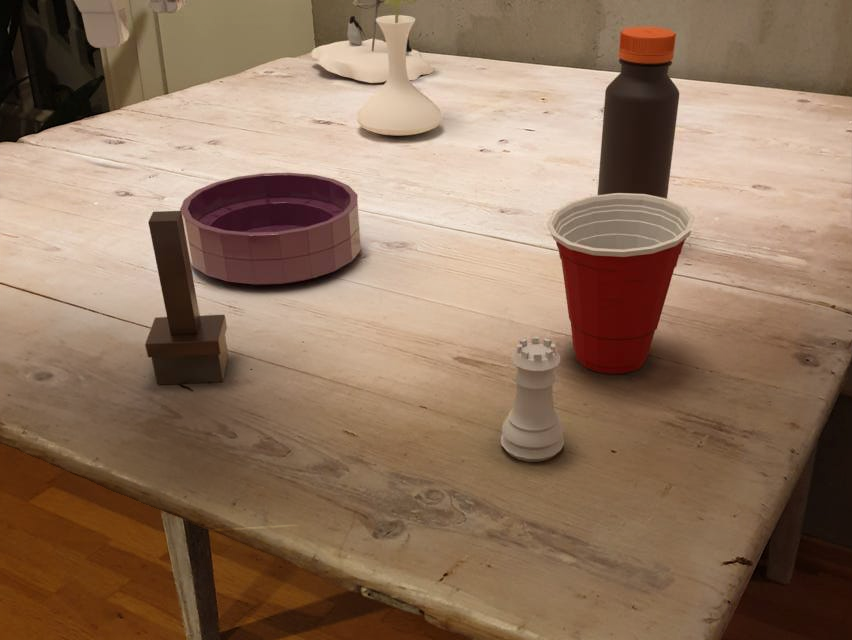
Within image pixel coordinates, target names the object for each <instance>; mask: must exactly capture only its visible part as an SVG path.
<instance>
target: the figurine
mask: <svg viewBox="0 0 852 640" xmlns="http://www.w3.org/2000/svg"><path fill="white" fill-rule="evenodd" d="M384 2H385V0H375V3H359V2H358V0H353V2H352V5H353V6H355V7H358V8H361V9H363V7H365V10H366V9H368V7H369V9H371V8H374V7H375V9H374V10H375V11H374V20H373V31H372V38H369V39H366V40H363V39H362V34H363V37H366V35H365V32H364V31H363V28H362V26H361V25H360V23H359V22H358V21H357V19H356V16H354V15H351V16H350V17H349V21H348V24H347V27H348V28H347V33H346V35H347V40H341V41H335V42H332V43H328V44H323V45H319V46H316V47H314V48H313V49H312V51H311V52H310V54H309V56H310V57H312V58H313V59H314V60H317V63H316V65H319V66H320V67H322V68H323V69H324V70H325V71H327V72H330V73H332V74H335V75H338V76H340V77H345V78H349V79H353V80H355V81H359V82H364V83H369V84H375V83H377V84H378V83H385V82H386V81H387V78H388V74H389V59H388V50H387V44H386V41H383V40H382V39H377V38H376V30H377V22H376V18H378V10H379V9H378V8H380V5H381V4H384ZM406 70H407V75H408V78H409V80H410V81H414V80H415V81H416V80H417V79H419V77H420V76H421V75H430V74H432V73H433V72H434V69H433V68H432V65H431V64H430V63H429V62H428V61H427V60H425V59H424V58H423V55H422V53H421V52H419V50H416V49H413V48H412V47H411V46H410V40H409V38H408V39H407V47H406Z"/></svg>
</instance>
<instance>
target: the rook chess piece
mask: <svg viewBox="0 0 852 640" xmlns="http://www.w3.org/2000/svg"><path fill="white" fill-rule="evenodd" d="M539 338H540V337H539V336H531V337H530V342H528V339H527V338H526V337H523V338H522V339H520V340H519V343H517V344H516V349H515V350H514V352H513V353H512V354H511V356H510V359H511V362H512V363H513V365H514V366H515V368H516V369H517V371H516V372H515V374H514V376H513V380H514V382H515V383H516V390H515V396H514V401H513V405H512V408H511V409H510V411H509V412H508V415H507V417H506V418H505V419H504V421H503V422H502V426H501V436H500V444H501V446H502V448H504V450H505V451H506V453H508V455H510V456H511V457H513V458H515V459H516V460H518V461H523V462H528V463H531V462H534V463H535V462H537V463H538V462H543V461H547V460H550V459H551V458H553V457H555V456H556V455H557V454H559V453H560V452H561V450H562V448H563V447H564V445H565V440H564V436H563V435H564V427H563V422H562V421H561V419H559V415H558V413H557V411H556V410H555V406H554V397H553V385H554V384H555V383H556V382H557V377H556V375H555V373H554V370H555V369H556V368H557V366H558V365H559V364H560V363H561V356H560V355H559V353H558V352H557V351H556V343H552V339H550V338H548V337H545V338H543V342H539Z"/></svg>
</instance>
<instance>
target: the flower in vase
mask: <svg viewBox="0 0 852 640" xmlns="http://www.w3.org/2000/svg"><path fill="white" fill-rule="evenodd" d="M384 1H385V2H384V3H383V4H384V5H385V6H386V5H387V6H389V7H390V6H391V7H394V8H395V14H390V15H389V14H388V15H382V16H377V18H376V24H377V25H378V26H379V27H380V29H381V32H382V33H383V36H384V40H385V42H386V44H387V50H388V59H389V74H388V78H387V80H386V81H385V82H384V84H383V85H382V86H381V87H380V89H378V91H376V92H375V93H374V94H373V95H372V96H371V97H370V98H368V99H367V100H366V101H365V102H364V103H363V104H362V106H361V107H360V108H359V109H358V112H357V115H356V118H355V119H356V121H357V123H358V124H359V126H360V127H361V128H362V129H364V130H367V131H369V132H371V133H374V134H379V135H385V136H412V135H419V134H422V133H426V132H429V131H431V130H434V129H435V128H437V127H438V126H440V124H441V122H442V121H443V118H444V117H443V113H442V111H441V109H440V107H438V105H436V104H435V102H434V101H432V99H430V98H429V97H428V96H426V94H424V93H423V92H422V91H421V90H419V89H418V88H417V87H416V86H415V85H413V83H412V81H411V80H409V78H408V75H407V70H406V47H407V39H409V34H410V31H411V29H412V27H413V25H414V24H415V22H416V17H414V16H410V15H403V14H402V15H401V14H399V10H400V6H401V5H402V4H403V3H404V1H405V0H384ZM406 1H407V2H408V3H409V4H414V3H416V1H417V0H406Z"/></svg>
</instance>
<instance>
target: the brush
mask: <svg viewBox="0 0 852 640" xmlns="http://www.w3.org/2000/svg"><path fill="white" fill-rule="evenodd" d="M147 223H148V227H149V232H150V238H151V243H152V248H153V252H154V253H153V254H154V259H155V263H156V268H157V273H158V278H159V283H160V288H161V293H162V298H163V304H164V309H165V312H166V316H160V317H159V316H158V317H157V316H156V317H154V320H153V322H152V324H151V327H150V330H149V333H148V335H147V338H146V341H145V344H144V346H145V350H146V355H147V358H149V359H150V358H151V362H152V367H153V371H154V372H153V373H154V376H155V381H156V385H158V386H159V385H176V384H177V385H179V384H181V385H182V384H200V383H203V384H204V383H221V382H224V380H225V375H226V370H227V365H228V361H229V351H228V345H227V344H228V343H227V338H226V334H227V329H228V326H227V319H226V315H225V314H211V315H210V314H207V315H206V314H205V315H200V309H199V305H198V298H197V292H196V285H195V281H194V276H193V270H192V263H191V261H190V258H189V252H188V247H187V241H186V235H185V230H184V224H183V218H182V213H181V211H180V210H165V211H164V210H163V211H161V210H160V211H158V210H157V211H152V213H151V214H150V217H149V219H148V221H147Z"/></svg>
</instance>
